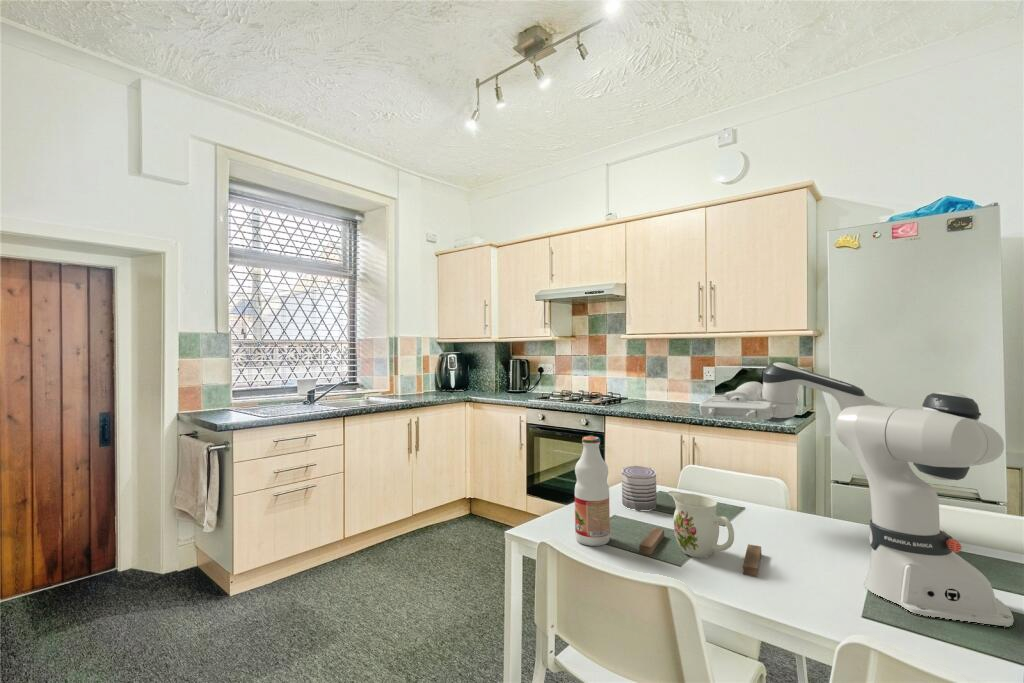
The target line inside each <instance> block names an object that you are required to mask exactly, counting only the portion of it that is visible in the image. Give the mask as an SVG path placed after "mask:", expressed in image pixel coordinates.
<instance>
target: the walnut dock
mask: <svg viewBox="0 0 1024 683" xmlns="http://www.w3.org/2000/svg"><path fill="white" fill-rule="evenodd" d="M663 537H664V538H665V529H664V528H661V527H660V528H659V527H652V529H651V530H650V531H649V532H648V533H647V534H646V536H645V537H644V538H643V540H642V541H641V542H639V546H638V547H639V551H638V552H639V554H643V555H649V556H652V555H653V553H654V552H655V550H656V549H657V548H656V547H658V546H659V545H660V543H662V541H663V539H664V538H663ZM662 538H663V539H662ZM661 540H662V541H661ZM658 544H659V545H658ZM745 551H746V552H745V555H744V558H743V563H742V574H743V575H745V576H750V577H754V578H759V577H758V576H759V571H760V565H761V559H762V546H760V545H754V544H750V543H747V547H746V550H745ZM651 554H652V555H651Z"/></svg>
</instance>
